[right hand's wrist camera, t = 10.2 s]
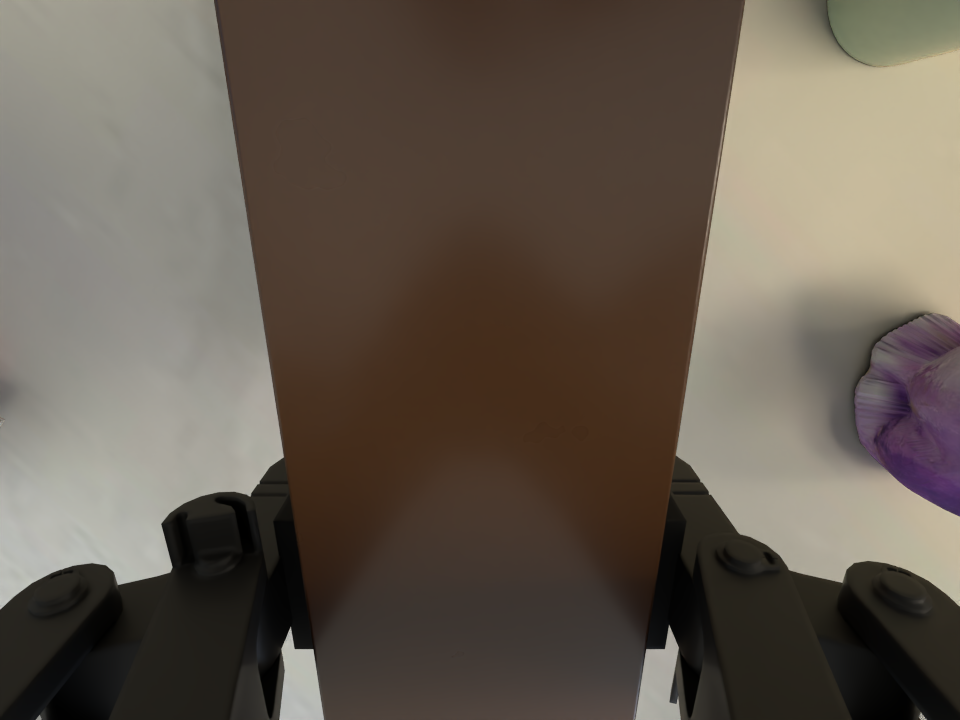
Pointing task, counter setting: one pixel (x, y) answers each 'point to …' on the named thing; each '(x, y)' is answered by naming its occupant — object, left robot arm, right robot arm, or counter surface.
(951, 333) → the figurine
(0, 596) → the counter surface
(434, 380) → the walnut box
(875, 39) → the pale green cylinder
